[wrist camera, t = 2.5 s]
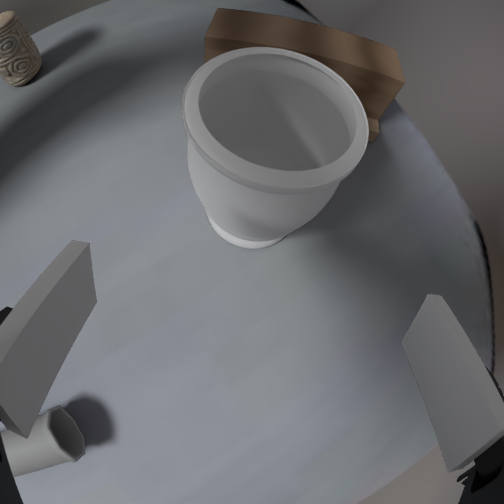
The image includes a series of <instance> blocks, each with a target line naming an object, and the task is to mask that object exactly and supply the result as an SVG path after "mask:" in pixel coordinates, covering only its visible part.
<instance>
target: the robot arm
mask: <svg viewBox="0 0 504 504" xmlns="http://www.w3.org/2000/svg"><path fill="white" fill-rule="evenodd" d="M96 303H97V299H96V292H95V285H94V278H93V270H92V262H91V253H90V243H86V242H80V241H74V240H72V241H71V242H70V243H69V244H68V245H67V246H66V247H65V248H64V250H63V251H62V252H61V253H60V254H59V255H58V256H57V257H56V258H55V259H54V261H53V262H52V263H51V264H50V265H49V266H48V267H47V268H46V270H45V271H44V272H43V273H42V274H41V275H40V277H39V278H38V279H37V280H36V281H35V282H34V284H33V285H32V286H31V287H30V288H29V290H28V291H27V292H26V293H25V295H24V296H23V297H22V298H21V299H20V301H19V302H18V303H17V305H16V306H15V307H14V308H10V307H6V308H4V309H3V310H1V311H0V421H1V422H2V423H3V424H4V425H5V426H6V428H7V429H8V430H10V431H12V432H14V433H16V434H18V435H20V436H22V437H24V438H26V439H28V437H29V435H30V432H31V430H32V427H33V425H34V423H35V421H36V418H37V416H38V414H39V412H40V409H41V407H42V405H43V403H44V401H45V399H46V396H47V394H48V392H49V390H50V388H51V386H52V384H53V382H54V380H55V378H56V376H57V374H58V372H59V370H60V368H61V366H62V364H63V362H64V360H65V358H66V356H67V354H68V353H69V351H70V349H71V347H72V345H73V343H74V341H75V340H76V338H77V336H78V334H79V332H80V331H81V329H82V327H83V325H84V323H85V322H86V320H87V318H88V316H89V315H90V313H91V311H92V310H93V308H94V306H95V304H96ZM401 345H402V347H403V349H404V352H405V354H406V357H407V359H408V361H409V364H410V366H411V369H412V371H413V374H414V376H415V379H416V381H417V384H418V386H419V389H420V392H421V394H422V397H423V400H424V402H425V405H426V408H427V411H428V413H429V416H430V419H431V422H432V425H433V428H434V430H435V433H436V436H437V439H438V442H439V445H440V449H441V452H442V455H443V458H444V462H445V465H446V468H447V472H448V473H449V472H452V471H455V470H458V469H462V468H464V467H465V466H466V465H468V464H469V463H470V462H472V461H473V460H474V462H475V465H474V466H473V467H472V468H470V469H469V470H467V471H466V472H465V473H463V474H462V475H460V476H459V477H458V479H457V482H459V481H461V480H462V479H463V478H465V477H467V476H468V478H467V479H465V480H464V481H463V482H462V484H463V485H465V487H464V490H463V493H462V496H461V498H460V501H459V503H458V504H504V396H503V393H502V391H501V389H500V388H498V386H499V385H498V383H497V381H496V379H495V378H494V376H493V374H492V373H491V372H490V371H489V370H488V369H487V368H486V367H485V366H484V364H483V362H482V360H481V358H480V357H479V355H478V353H477V351H476V350H475V348H474V346H473V345H472V343H471V341H470V340H469V338H468V336H467V335H466V333H465V331H464V330H463V328H462V326H461V325H460V323H459V322H458V320H457V319H456V317H455V315H454V314H453V312H452V311H451V309H450V308H449V306H448V305H447V303H446V302H445V300H444V299H443V297H442V296H441V295H434V294H428V295H427V297H426V298H425V300H424V302H423V304H422V306H421V308H420V310H419V311H418V313H417V315H416V317H415V319H414V320H413V322H412V324H411V326H410V327H409V329H408V331H407V332H406V334H405V336H404V337H403V339H402V341H401ZM0 504H23V502H22V499H21V496H20V494H19V491H18V489H17V486H16V483H15V480H14V477H13V474H12V471H11V468H10V465H9V462H8V458H7V455H6V452H5V448H4V444H3V441H2V437H1V433H0Z"/></svg>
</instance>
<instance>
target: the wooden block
mask: <svg viewBox="0 0 504 504" xmlns="http://www.w3.org/2000/svg"><path fill="white" fill-rule="evenodd" d="M250 47H270V48H279V49H284V50H289V51H293V52H296V53H299V54H302V55H305V56H307V57H310V58H312V59H314V60H316V61H318V62H320V63H322V64H323V65H325V66H327V67H328V68H330V69H331V70H333V71H334V72H335V73H336V74H338V75H339V76H340V77H341V78H342V79H343V80H344V81H345V82H346V83H347V84H348V85H349V86H350V87H351V88H352V89H353V91H354V92H355V94H356V95H357V96H358V98H359V100H360V102H361V103H362V105H363V108H364V110H365V113H366V116H367V120H368V127H369V136H368V141H369V142H373V141H374V140H375V139H376V137H377V136H378V135H379V123H378V120H379V118H380V117H381V116H382V114H383V113H384V111H385V110H386V109H387V107H388V106H389V104H390V103H391V102H392V100H393V99H394V97H395V96H396V95H397V93H398V92H399V90H400V89H401V88H402V86H403V85H404V83H405V81H404V77H403V73H402V69H401V65H400V62H399V58H398V55H397V51H396V49H394V48H392V47H389V46H386V45H384V44H381V43H378V42H375V41H372V40H369V39H367V38H363V37H360V36H357V35H354V34H351V33H348V32H344V31H341V30H337V29H334V28H330V27H326V26H322V25H318V24H314V23H310V22H306V21H301V20H297V19H292V18H287V17H282V16H276V15H270V14H264V13H258V12H251V11H243V10H234V9H224V8H217V11H216V13H215V15H214V17H213V19H212V22H211V24H210V26H209V29H208V31H207V33H206V36H205V63H206V62H208V61H209V60H211V59H213V58H215V57H217V56H219V55H221V54H224V53H226V52H229V51H233V50H237V49H242V48H250Z"/></svg>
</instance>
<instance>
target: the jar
mask: <svg viewBox="0 0 504 504" xmlns="http://www.w3.org/2000/svg"><path fill="white" fill-rule="evenodd" d="M182 115H183V121H184V126H185V129H186V132H187V135H188V150H187V153H188V166H189V172H190V176H191V180H192V183H193V186H194V189H195V191H196V193H197V195H198V197H199V199H200V201H201V203H202V205H203V207H204V209H205V210H206V212H207V215H208V218H209V221H210V223H211V225H212V226H213V228H214V229H215V231H216V232H217V233H218V234H219V235H220V236H221V237H222V238H224V239H225V240H227V241H228V242H230V243H232V244H234V245H236V246H239V247H243V248H251V249H257V248H264V247H268V246H271V245H273V244H275V243H277V242H278V241H280V240H281V239H282V238H283V237H285V236H286V235H287V234H289V233H291V232H292V231H294V230H296V229H298V228H300V227H301V226H303V225H304V224H306V223H307V222H309V221H310V220H311V219H313V218H314V217H315V216H316V215H317V214H318V213H319V212H320V211H321V210H322V209H323V208H324V207H325V206H326V204H327V203H328V202H329V200H330V199H331V198H332V196H333V194H334V193H335V191H336V189H337V188H338V186H339V184H340V182H341V180H343V179H344V178H345V177H347V176H348V175H349V174H350V173H351V172H352V171H353V170H354V169H355V167H356V166H357V165H358V163H359V162H360V160H361V158H362V156H363V154H364V152H365V150H366V147H367V143H368V136H369V127H368V120H367V116H366V113H365V110H364V108H363V105H362V103H361V102H360V100H359V98H358V96H357V95H356V94H355V92H354V91H353V89H352V88H351V87H350V86H349V85H348V84H347V83H346V82H345V81H344V80H343V79H342V78H341V77H340V76H339V75H338V74H336V73H335V72H334V71H333V70H331V69H330V68H328V67H327V66H325V65H323V64H322V63H320V62H318V61H316V60H314V59H312V58H310V57H307V56H305V55H302V54H299V53H296V52H293V51H289V50H284V49H279V48H270V47H250V48H242V49H237V50H233V51H229V52H226V53H224V54H221V55H219V56H217V57H215V58H213V59H211V60H209V61H208V62H206V63H205V64H204V65H202V66H201V67H200V68H199V69H198V70H197V71H196V72H195V73H194V74H193V76H192V77H191V78H190V80H189V81H188V83H187V85H186V88H185V90H184V93H183V98H182Z"/></svg>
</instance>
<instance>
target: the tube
mask: <svg viewBox="0 0 504 504" xmlns="http://www.w3.org/2000/svg"><path fill="white" fill-rule="evenodd" d="M0 433H1V437H2V441H3V444H4V448H5V452H6V455H7V458H8V462H9V465H10V468H11V471H12V474H13V477H16V476H19V475H23V474H27V473H31V472H34V471H38V470H41V469H45V468H48V467H52V466H55V465H58V464H61V463H64V462H68V461H71V462H76V461H78V460H79V459H80V458H81V457H82V456H83V455H85V438H84V437H83V435H82V433H81V432H80V430H79V428H78V426H77V425H76V423H75V421H74V419H73V418H72V416H71V415H69V414H68V413H67V412H66V411H65V410H64V409H63V408H62V407H61V406H60V405H59V406H56V407H54V408H51V409H49V410H47V411H46V412H45V414H44V415H42V416H39V417H37V418H36V421H35V423H34V425H33V427H32V430H31V432H30V435H29V437H28V439H26V438H24V437H22V436H20V435H18V434H16V433H14V432H12V431H10V430H5V431H3V432H0Z"/></svg>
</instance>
